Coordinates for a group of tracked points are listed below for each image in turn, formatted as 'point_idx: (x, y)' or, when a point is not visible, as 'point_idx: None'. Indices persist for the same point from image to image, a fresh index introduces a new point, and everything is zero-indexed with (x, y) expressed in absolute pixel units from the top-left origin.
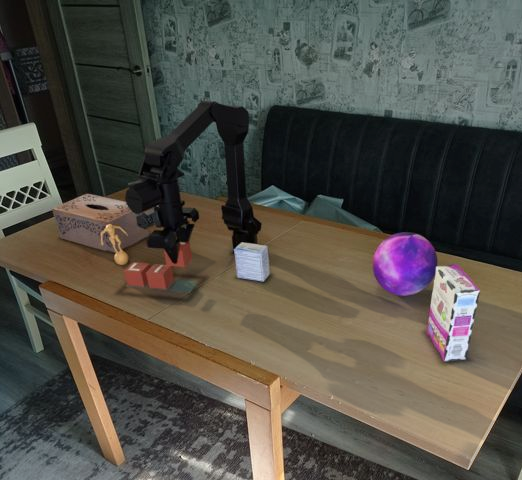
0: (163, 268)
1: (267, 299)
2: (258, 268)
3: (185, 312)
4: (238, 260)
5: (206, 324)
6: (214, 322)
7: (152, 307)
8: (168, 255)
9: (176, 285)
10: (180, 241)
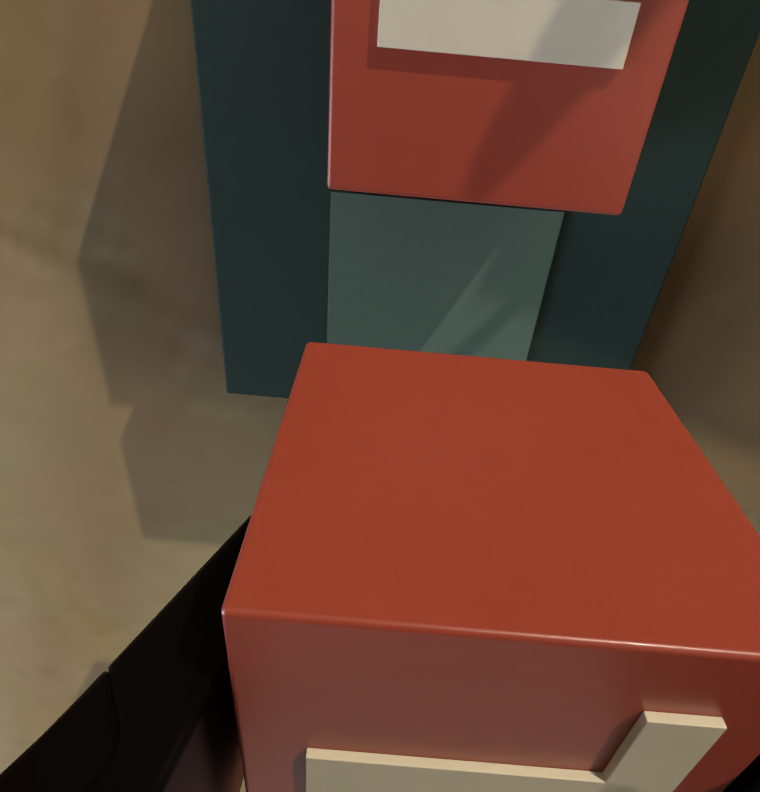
0: (514, 123)
1: None
2: None
3: (76, 416)
4: None
5: (18, 549)
6: (57, 577)
7: (12, 106)
8: (155, 622)
9: (439, 232)
10: (745, 785)
